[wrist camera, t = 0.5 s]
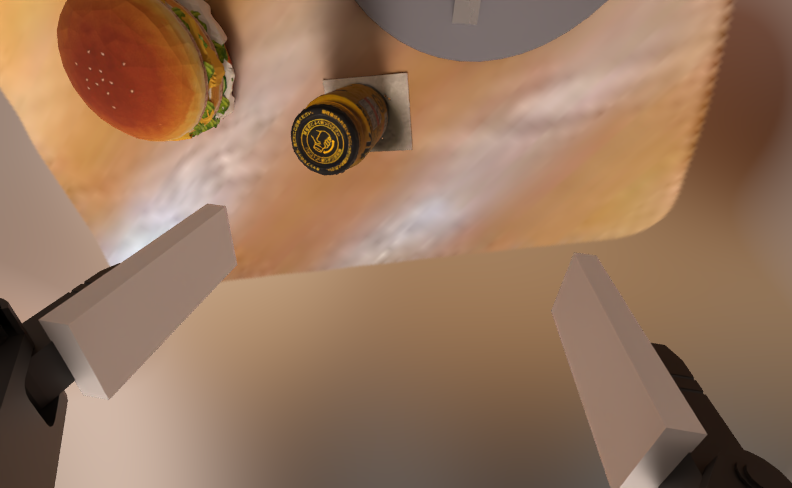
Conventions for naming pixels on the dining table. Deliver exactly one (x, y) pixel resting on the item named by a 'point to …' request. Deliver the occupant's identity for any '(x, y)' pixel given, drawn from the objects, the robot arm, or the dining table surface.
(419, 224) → the dining table surface
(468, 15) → the grey disc with blocks
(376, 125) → the condiment
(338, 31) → the dining table surface
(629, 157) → the dining table surface
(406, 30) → the base
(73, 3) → the burger
